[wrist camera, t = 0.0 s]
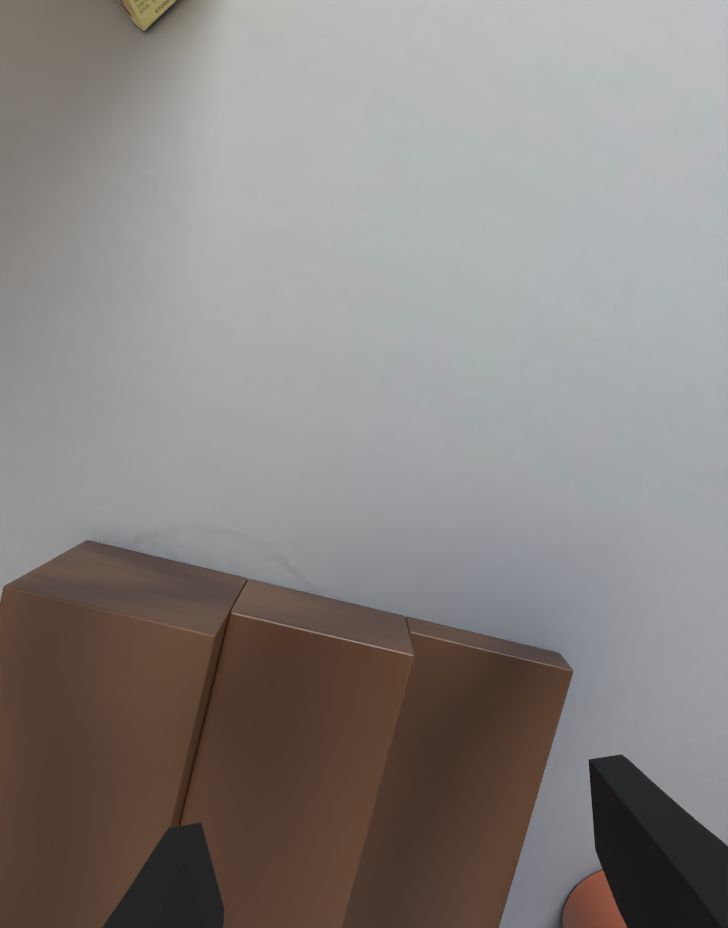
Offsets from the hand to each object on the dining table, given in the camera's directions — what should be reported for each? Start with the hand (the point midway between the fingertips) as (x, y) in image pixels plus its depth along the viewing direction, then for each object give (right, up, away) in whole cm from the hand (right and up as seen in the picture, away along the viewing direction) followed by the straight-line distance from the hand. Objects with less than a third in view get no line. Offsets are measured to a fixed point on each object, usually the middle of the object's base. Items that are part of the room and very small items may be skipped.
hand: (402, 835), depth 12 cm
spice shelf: (-3, -3, +11) cm, 12 cm away
